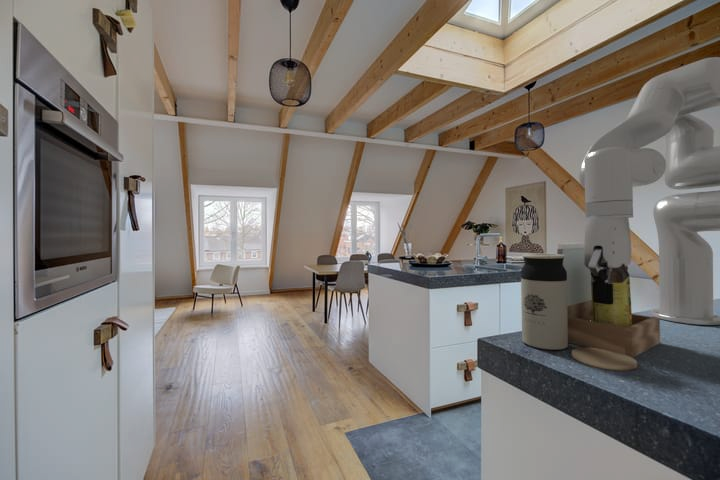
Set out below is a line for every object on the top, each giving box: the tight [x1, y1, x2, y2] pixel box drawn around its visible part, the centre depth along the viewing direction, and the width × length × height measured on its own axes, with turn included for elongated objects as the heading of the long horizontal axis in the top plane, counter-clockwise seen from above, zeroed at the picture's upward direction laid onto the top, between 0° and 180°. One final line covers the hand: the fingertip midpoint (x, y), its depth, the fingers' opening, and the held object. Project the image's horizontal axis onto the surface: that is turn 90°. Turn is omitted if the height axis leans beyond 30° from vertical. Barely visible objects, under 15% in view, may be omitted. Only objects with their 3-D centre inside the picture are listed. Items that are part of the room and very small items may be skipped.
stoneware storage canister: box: [520, 253, 569, 351], centre depth 64 cm, size 8×8×18 cm
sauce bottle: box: [591, 263, 633, 327], centre depth 64 cm, size 6×6×20 cm
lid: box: [556, 242, 592, 306], centre depth 69 cm, size 15×1×20 cm, turn 122°
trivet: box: [571, 346, 638, 372], centre depth 55 cm, size 9×9×1 cm
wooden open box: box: [567, 300, 661, 359], centre depth 65 cm, size 14×12×7 cm
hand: (610, 299), depth 64 cm, fingers closed on sauce bottle, 6 cm apart
